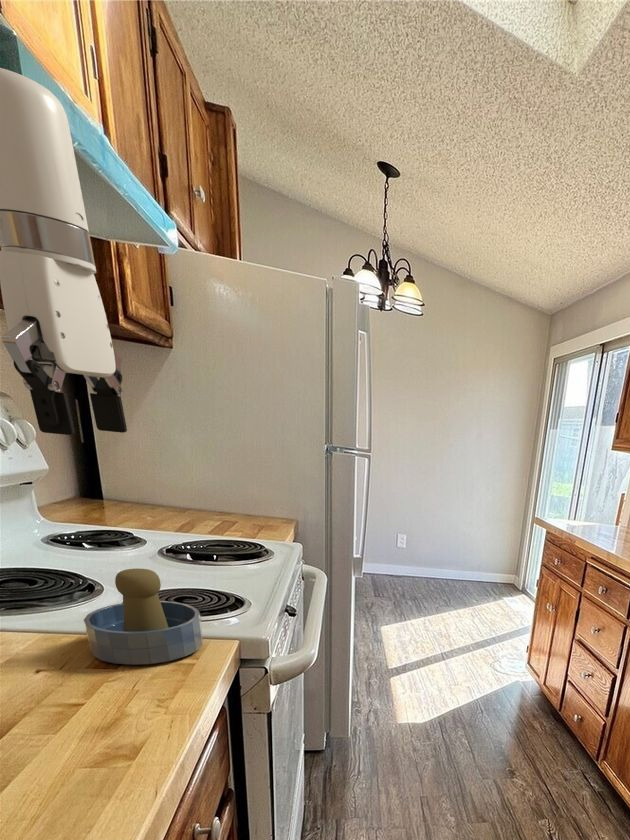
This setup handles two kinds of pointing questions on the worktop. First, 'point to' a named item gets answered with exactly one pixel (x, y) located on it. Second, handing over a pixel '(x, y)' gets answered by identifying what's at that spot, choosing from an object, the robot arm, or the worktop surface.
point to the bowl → (144, 636)
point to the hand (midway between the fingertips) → (87, 432)
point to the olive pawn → (141, 600)
